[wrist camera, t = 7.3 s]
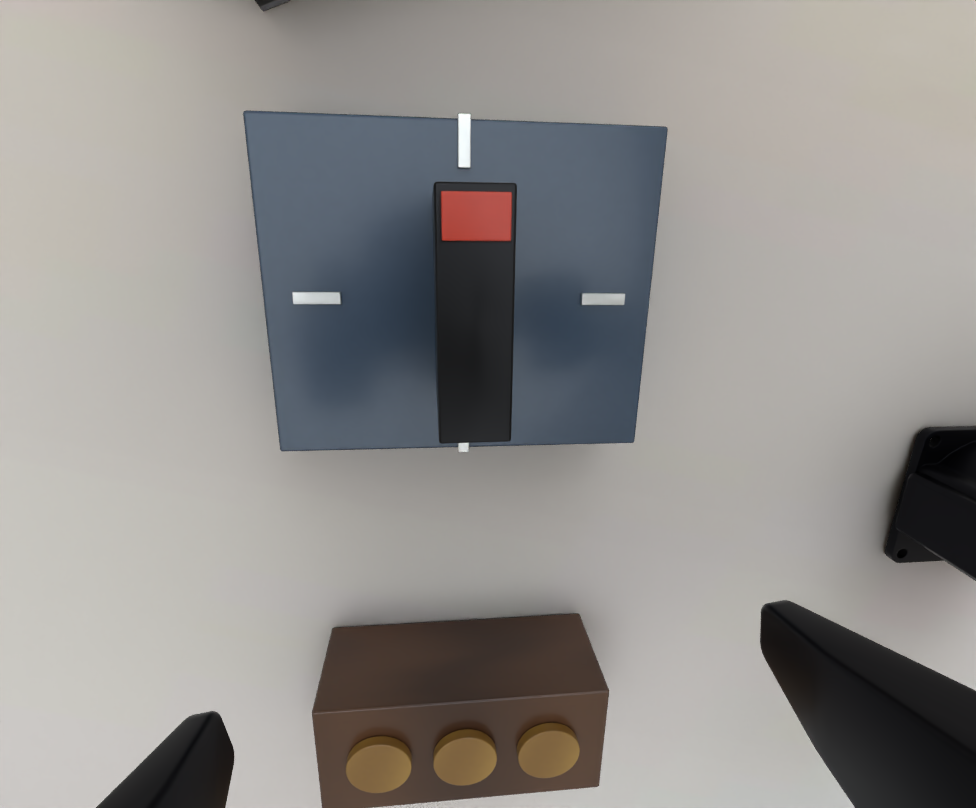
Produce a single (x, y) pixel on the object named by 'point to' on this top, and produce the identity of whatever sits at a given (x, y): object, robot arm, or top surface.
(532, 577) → the top surface
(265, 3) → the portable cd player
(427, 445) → the dial panel
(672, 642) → the top surface
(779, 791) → the top surface
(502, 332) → the black block red tip
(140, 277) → the top surface
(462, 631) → the token holder
